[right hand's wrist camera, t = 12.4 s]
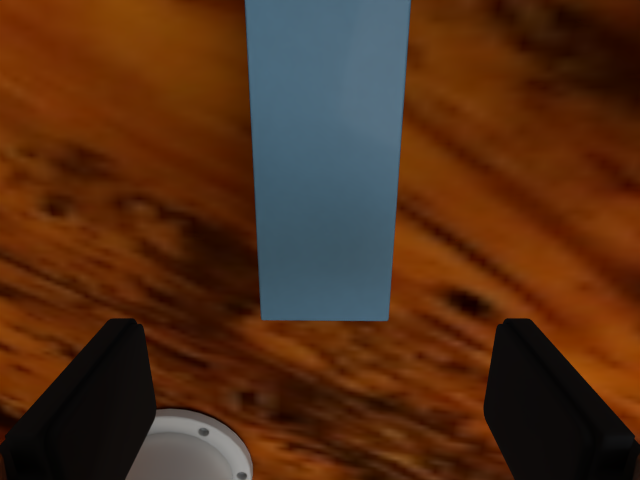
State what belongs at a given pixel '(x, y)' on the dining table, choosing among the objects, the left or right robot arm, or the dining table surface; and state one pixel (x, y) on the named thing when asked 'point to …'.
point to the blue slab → (326, 153)
